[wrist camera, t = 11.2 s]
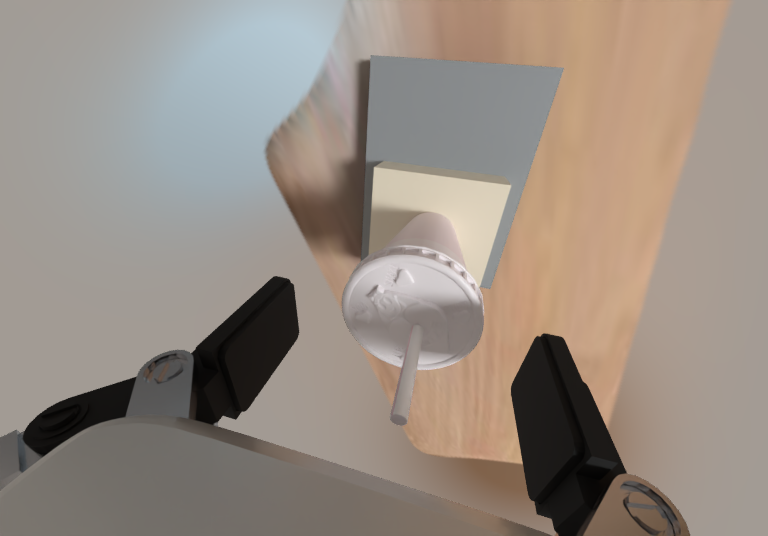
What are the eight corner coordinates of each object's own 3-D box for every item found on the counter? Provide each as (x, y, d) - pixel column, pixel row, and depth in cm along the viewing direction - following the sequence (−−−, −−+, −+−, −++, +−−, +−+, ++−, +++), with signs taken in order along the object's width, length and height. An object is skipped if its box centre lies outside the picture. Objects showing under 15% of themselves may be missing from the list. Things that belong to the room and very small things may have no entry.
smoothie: (432, 288, 22) (398, 486, 11) (371, 238, 22) (259, 391, 10) (495, 234, 19) (551, 434, 7) (426, 172, 18) (360, 282, 6)
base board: (376, 59, 20) (356, 45, 16) (556, 71, 18) (582, 59, 14) (365, 256, 28) (350, 279, 24) (488, 280, 26) (493, 309, 22)
